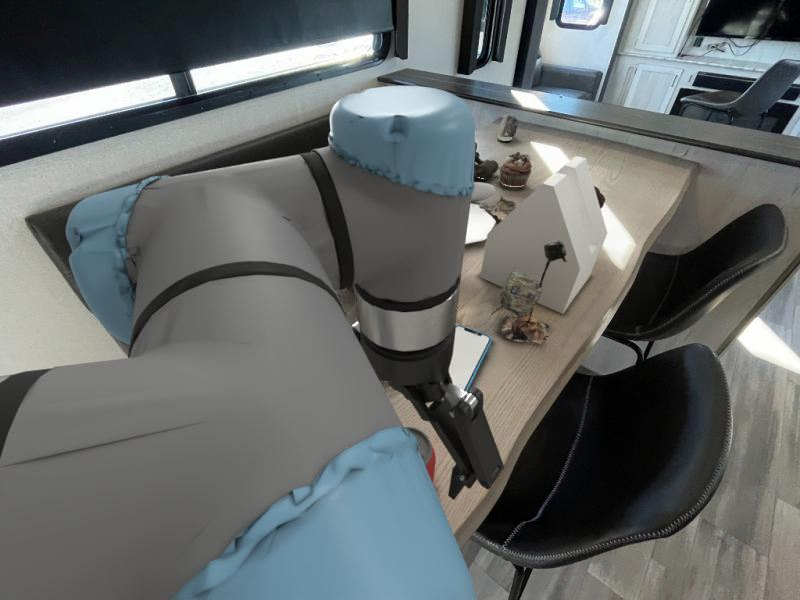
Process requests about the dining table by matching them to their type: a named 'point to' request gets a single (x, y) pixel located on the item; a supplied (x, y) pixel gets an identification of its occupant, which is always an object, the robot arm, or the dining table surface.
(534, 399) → the dining table surface
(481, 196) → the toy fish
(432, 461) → the beer can
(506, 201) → the leaf
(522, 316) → the plant with pod
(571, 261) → the white house model
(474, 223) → the plate
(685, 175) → the dining table surface
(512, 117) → the rock
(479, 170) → the binoculars
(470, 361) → the smartphone
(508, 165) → the cupcake
